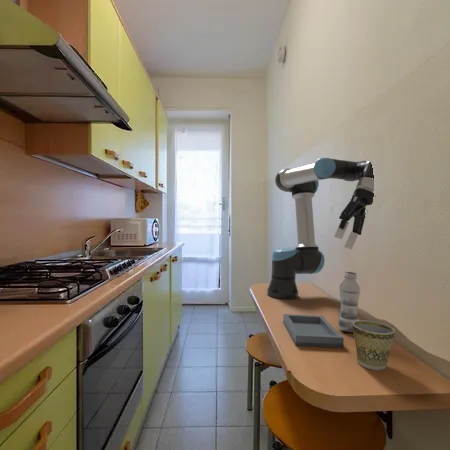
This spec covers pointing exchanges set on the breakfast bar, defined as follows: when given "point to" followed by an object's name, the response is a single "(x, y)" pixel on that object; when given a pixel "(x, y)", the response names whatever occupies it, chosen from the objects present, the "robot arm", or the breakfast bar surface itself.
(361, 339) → the ceramic cup
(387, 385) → the breakfast bar surface
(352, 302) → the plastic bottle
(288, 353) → the breakfast bar surface
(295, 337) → the tray
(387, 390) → the breakfast bar surface
